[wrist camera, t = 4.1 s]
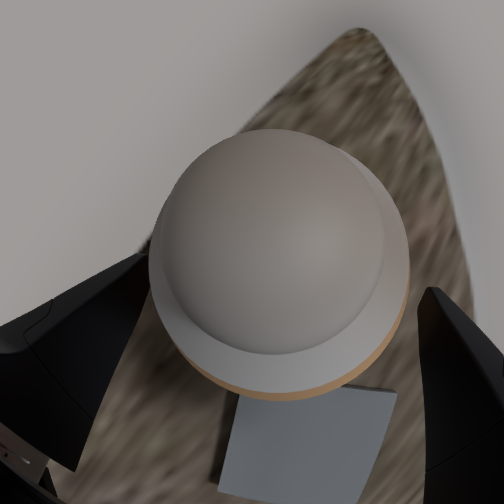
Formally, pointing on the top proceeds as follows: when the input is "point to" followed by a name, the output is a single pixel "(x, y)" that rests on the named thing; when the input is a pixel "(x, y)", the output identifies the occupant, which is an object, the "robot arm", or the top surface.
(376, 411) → the plate
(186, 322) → the pepper mill
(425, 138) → the top surface
